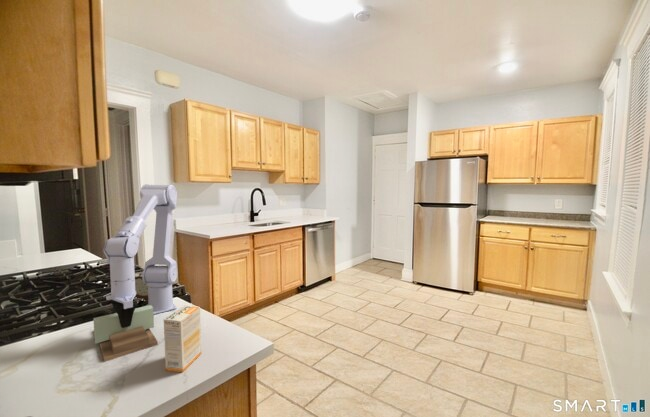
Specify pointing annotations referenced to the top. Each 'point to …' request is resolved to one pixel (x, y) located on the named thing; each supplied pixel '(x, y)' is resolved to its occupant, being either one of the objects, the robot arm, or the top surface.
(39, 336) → the top surface
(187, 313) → the supplement box
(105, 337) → the sage block
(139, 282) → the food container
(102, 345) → the slotted plank
